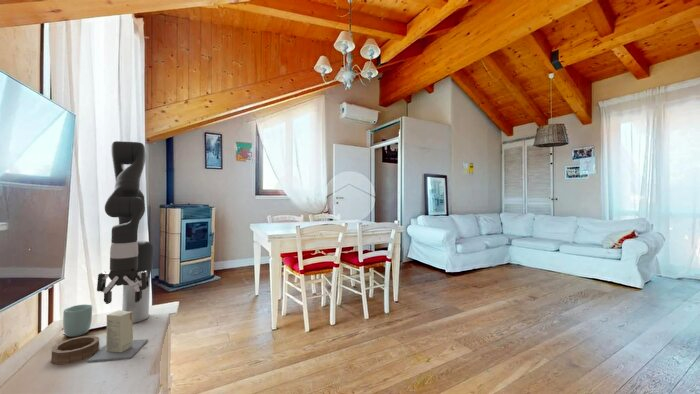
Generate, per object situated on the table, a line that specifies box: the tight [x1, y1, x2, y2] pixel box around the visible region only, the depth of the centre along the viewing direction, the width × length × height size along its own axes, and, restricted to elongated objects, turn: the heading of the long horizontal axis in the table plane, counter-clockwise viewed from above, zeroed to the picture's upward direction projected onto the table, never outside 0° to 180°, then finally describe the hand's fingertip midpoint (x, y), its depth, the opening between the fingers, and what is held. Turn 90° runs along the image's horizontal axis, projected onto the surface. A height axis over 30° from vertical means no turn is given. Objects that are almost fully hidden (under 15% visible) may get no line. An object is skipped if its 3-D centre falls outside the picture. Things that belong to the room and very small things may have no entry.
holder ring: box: [50, 335, 100, 365], centre depth 95 cm, size 11×11×4 cm
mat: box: [87, 338, 149, 363], centre depth 98 cm, size 12×12×1 cm
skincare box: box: [105, 310, 134, 353], centre depth 98 cm, size 6×4×12 cm
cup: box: [62, 303, 93, 338], centre depth 108 cm, size 8×8×10 cm
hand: (123, 302), depth 98 cm, fingers open, 8 cm apart
